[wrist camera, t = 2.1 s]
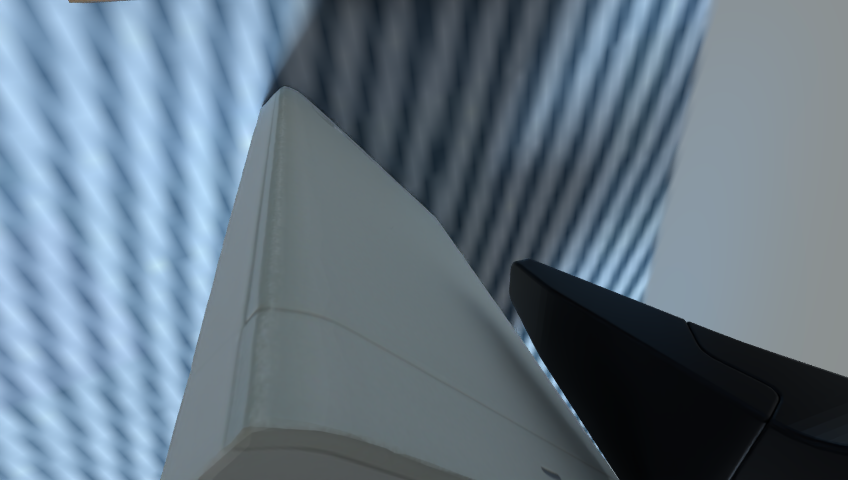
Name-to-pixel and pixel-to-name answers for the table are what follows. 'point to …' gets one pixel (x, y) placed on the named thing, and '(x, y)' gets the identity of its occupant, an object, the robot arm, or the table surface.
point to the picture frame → (92, 1)
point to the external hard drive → (357, 336)
